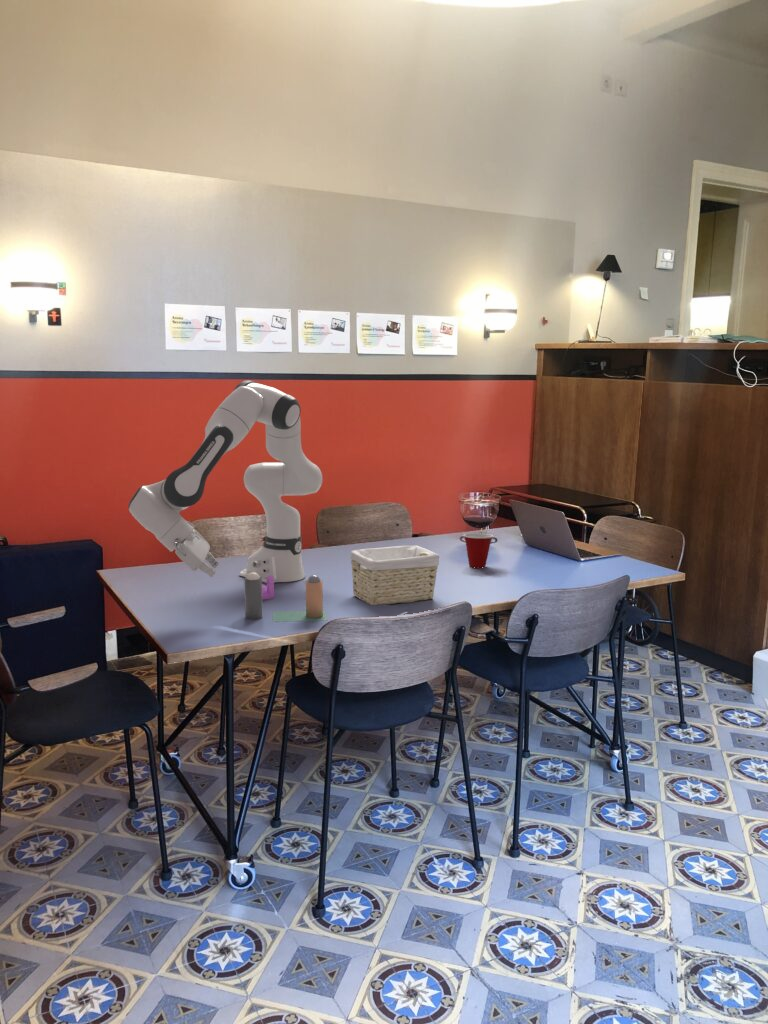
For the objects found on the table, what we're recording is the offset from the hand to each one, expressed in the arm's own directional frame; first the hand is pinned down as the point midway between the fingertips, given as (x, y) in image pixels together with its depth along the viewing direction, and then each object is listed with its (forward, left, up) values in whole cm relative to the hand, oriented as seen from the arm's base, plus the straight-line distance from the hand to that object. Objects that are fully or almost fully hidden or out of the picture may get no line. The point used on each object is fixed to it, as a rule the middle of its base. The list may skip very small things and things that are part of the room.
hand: (215, 570), depth 217 cm
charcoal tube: (+8, +6, -15) cm, 18 cm away
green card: (+19, +13, -14) cm, 27 cm away
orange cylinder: (+22, +15, -14) cm, 30 cm away
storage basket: (+32, +45, -15) cm, 58 cm away
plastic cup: (+40, +96, -15) cm, 105 cm away
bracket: (-6, +28, -15) cm, 32 cm away
